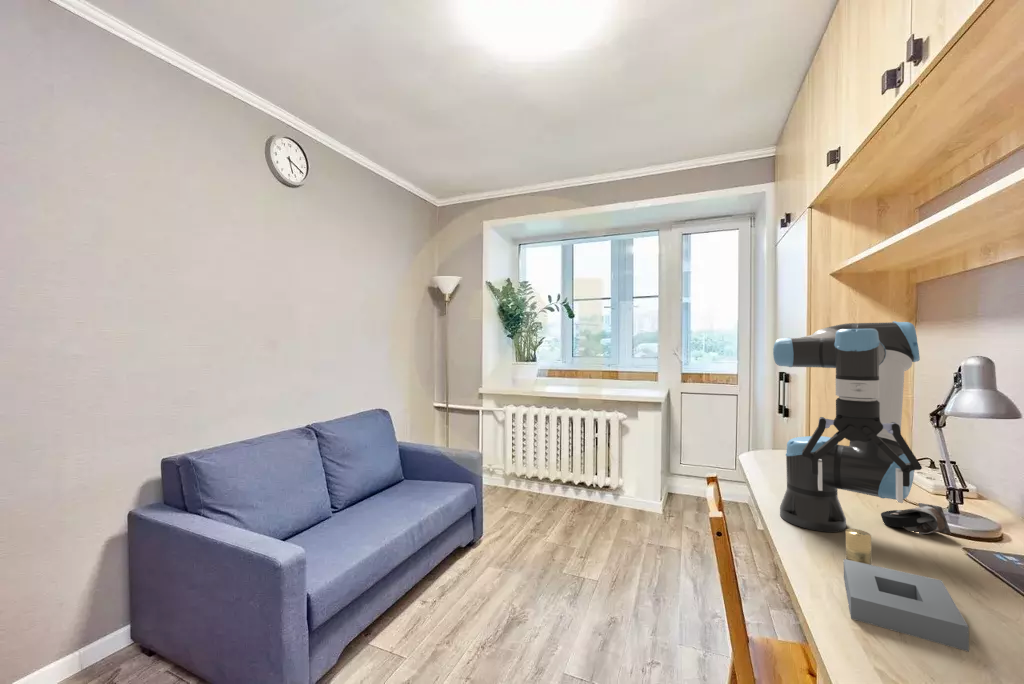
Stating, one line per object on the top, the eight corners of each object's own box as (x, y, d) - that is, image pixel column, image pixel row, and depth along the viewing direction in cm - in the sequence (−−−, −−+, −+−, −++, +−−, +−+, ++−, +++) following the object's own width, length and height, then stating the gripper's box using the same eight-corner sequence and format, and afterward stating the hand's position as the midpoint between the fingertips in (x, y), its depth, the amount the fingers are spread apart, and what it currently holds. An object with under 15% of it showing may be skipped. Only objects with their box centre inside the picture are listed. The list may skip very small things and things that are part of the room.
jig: (843, 577, 91) (843, 558, 91) (941, 601, 82) (941, 580, 82) (850, 618, 77) (850, 596, 77) (968, 651, 69) (968, 626, 69)
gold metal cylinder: (845, 561, 97) (844, 526, 97) (870, 567, 94) (869, 531, 94) (846, 570, 93) (846, 534, 93) (872, 576, 91) (872, 539, 91)
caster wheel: (878, 530, 118) (913, 524, 118) (914, 540, 107) (953, 534, 107) (870, 505, 120) (905, 499, 120) (905, 512, 108) (943, 506, 109)
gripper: (789, 397, 98) (790, 489, 98) (940, 404, 84) (941, 512, 84) (789, 393, 104) (790, 480, 104) (930, 400, 90) (931, 500, 90)
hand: (858, 494), depth 94 cm, fingers open, 13 cm apart
